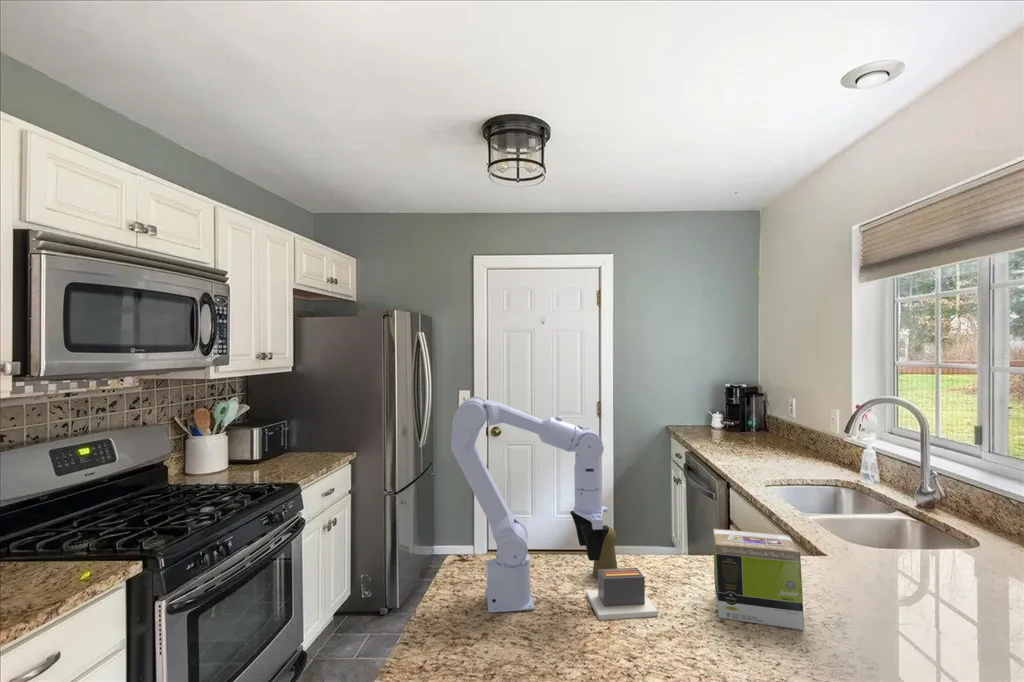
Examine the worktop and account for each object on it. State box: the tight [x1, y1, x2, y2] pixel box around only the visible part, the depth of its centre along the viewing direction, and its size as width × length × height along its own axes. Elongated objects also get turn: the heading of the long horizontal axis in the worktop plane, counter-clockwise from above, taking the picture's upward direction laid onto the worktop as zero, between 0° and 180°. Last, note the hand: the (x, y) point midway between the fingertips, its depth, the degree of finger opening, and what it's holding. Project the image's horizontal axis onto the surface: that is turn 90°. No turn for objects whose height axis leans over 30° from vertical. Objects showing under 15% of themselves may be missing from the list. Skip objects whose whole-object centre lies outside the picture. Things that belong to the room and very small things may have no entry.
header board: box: [585, 589, 659, 621], centre depth 101 cm, size 12×10×4 cm
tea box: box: [712, 528, 805, 631], centre depth 98 cm, size 15×10×15 cm, turn 71°
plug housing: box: [597, 567, 646, 606], centre depth 101 cm, size 8×4×6 cm, turn 95°
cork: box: [592, 526, 619, 580], centre depth 116 cm, size 6×6×11 cm
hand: (589, 552), depth 103 cm, fingers open, 7 cm apart
